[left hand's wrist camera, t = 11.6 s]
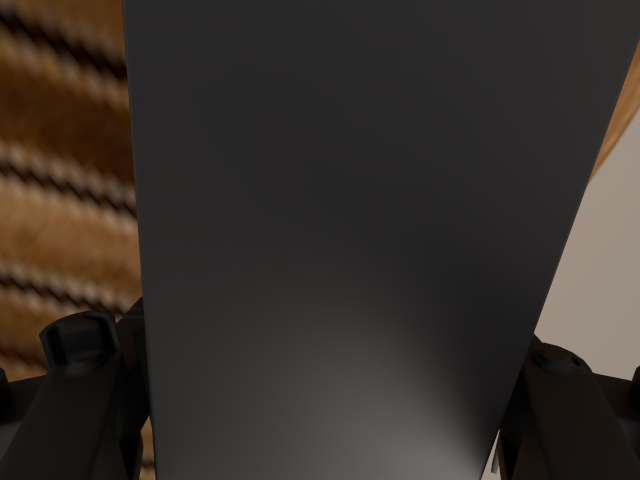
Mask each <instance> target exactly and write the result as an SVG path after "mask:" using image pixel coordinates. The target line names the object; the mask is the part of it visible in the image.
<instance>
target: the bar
mask: <svg viewBox="0 0 640 480" xmlns="http://www.w3.org/2000/svg"><path fill="white" fill-rule="evenodd" d="M122 8H123V23H124V37H125V51H126V65H127V79H128V93H129V108H130V122H131V136H132V150H133V164H134V179H135V193H136V207H137V221H138V235H139V250H140V264H141V278H142V292H143V306H144V320H145V335H146V349H147V363H148V377H149V391H150V406H151V420H152V434H153V448H154V462H155V477H156V480H481V478H482V475H483V472H484V470H485V467H486V464H487V461H488V458H489V456H490V453H491V450H492V447H493V445H494V442H495V439H496V436H497V433H498V431H499V428H500V425H501V422H502V420H503V417H504V414H505V411H506V408H507V406H508V403H509V400H510V397H511V395H512V392H513V389H514V386H515V384H516V381H517V378H518V375H519V372H520V370H521V367H522V364H523V361H524V359H525V356H526V353H527V350H528V347H529V345H530V342H531V339H532V336H533V334H534V331H535V328H536V325H537V322H538V320H539V317H540V314H541V311H542V309H543V306H544V303H545V300H546V297H547V295H548V292H549V289H550V286H551V284H552V281H553V278H554V275H555V273H556V270H557V267H558V264H559V261H560V259H561V256H562V253H563V250H564V248H565V245H566V242H567V239H568V236H569V234H570V231H571V228H572V225H573V223H574V220H575V217H576V214H577V212H578V209H579V206H580V203H581V200H582V198H583V195H584V192H585V189H586V187H587V184H588V181H589V178H590V175H591V173H592V170H593V167H594V164H595V162H596V159H597V156H598V153H599V150H600V148H601V145H602V142H603V139H604V137H605V134H606V131H607V128H608V126H609V123H610V120H611V117H612V114H613V112H614V109H615V106H616V103H617V101H618V98H619V95H620V92H621V89H622V87H623V84H624V81H625V78H626V76H627V73H628V70H629V67H630V65H631V62H632V59H633V56H634V53H635V51H636V48H637V45H638V42H639V40H640V0H122Z"/></svg>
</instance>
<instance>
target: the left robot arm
mask: <svg viewBox="0 0 640 480" xmlns="http://www.w3.org/2000/svg"><path fill="white" fill-rule="evenodd" d="M39 336H40V340H41V343H42V346H43V349H44V352H45V355H46V358H47V362H48V365H49V368H50V369H49V371H48V373H47V375H43V376H39V377H34V378H29V379H24V380H19V381H14V382H8V380H7V377H6V374H5V372H4V370H3V369H2V368H0V480H139V476H140V469H141V462H142V455H143V440H142V436H141V429H142V427H143V425H144V424H145V422H146V420H147V418H148V416H150V421H151V426H152V420H151V406H150V391H149V377H148V363H147V349H146V335H145V320H144V306H143V296H142V297H141V298H139V299H138V301H137V302H136V303H135V304H134V305H133V306H132V307H131V308H130V310H128V311H127V313H126V314H125V315H124V316H123V319H120V320H119V321H118V322H117V324H116V321H115V317H114V316H113V315H112V314H111V313H109V312H105V311H100V310H97V311H84V312H80V313H76V314H71V315H69V316H66V317H64V318H61V319H58V320H57V321H55V322H53V323H51V324H50V325H48V326H46V327H45V328H44V329H43V330H42V331H41V332H40V333H39ZM499 430H500V431H499V436H498V440H497V444H496V449H495V453H494V457H493V462H492V468H491V472H492V473H497V469H498V465H499V468H500V475H501V480H640V366H639V367H637V368H636V370H635V373H634V376H633V379H632V381H630V380H625V379H620V378H615V377H610V376H605V375H600V374H596V373H593V372H592V371H591V369H590V367H589V366H588V365H587V364H586V363H585V361H584V360H583V359H581V358H580V357H578V356H577V355H575V354H574V353H573V352H570V351H568V350H566V349H564V348H562V347H559V346H556V345H552V344H548V343H542V342H541V341H540V340H539V338H538V337H537V336H536V335H535V334H533V336H532V339H531V342H530V345H529V347H528V350H527V353H526V356H525V359H524V361H523V364H522V367H521V370H520V372H519V375H518V378H517V381H516V384H515V386H514V389H513V392H512V395H511V397H510V400H509V403H508V406H507V408H506V411H505V414H504V417H503V420H502V422H501V425H500V428H499Z"/></svg>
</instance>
